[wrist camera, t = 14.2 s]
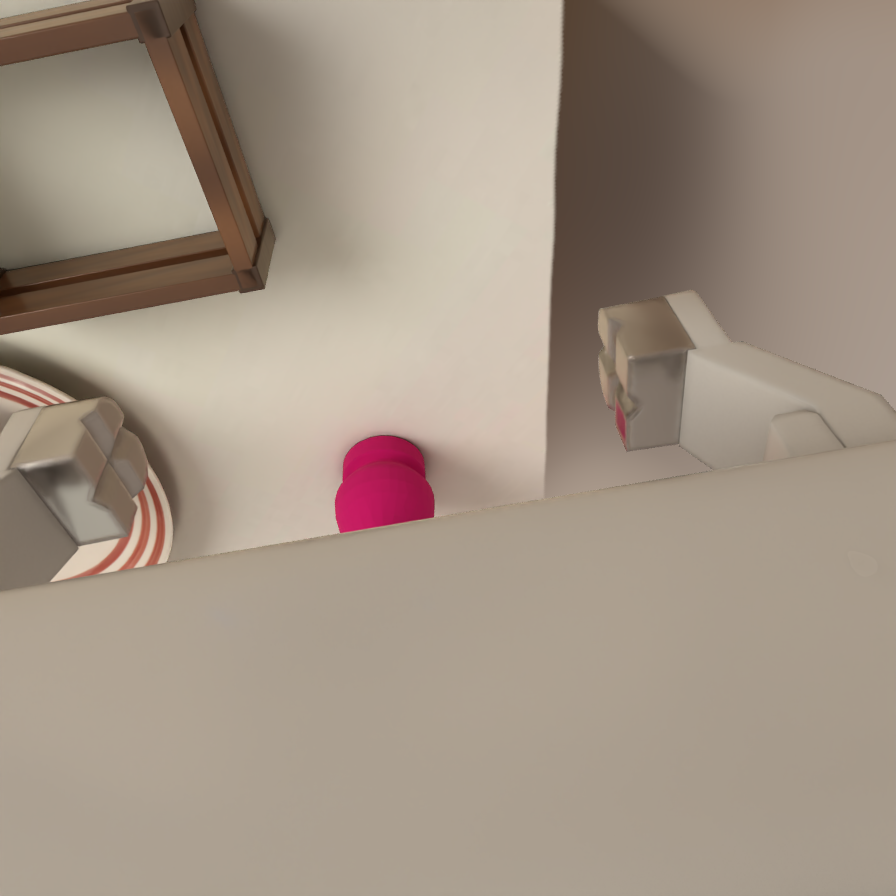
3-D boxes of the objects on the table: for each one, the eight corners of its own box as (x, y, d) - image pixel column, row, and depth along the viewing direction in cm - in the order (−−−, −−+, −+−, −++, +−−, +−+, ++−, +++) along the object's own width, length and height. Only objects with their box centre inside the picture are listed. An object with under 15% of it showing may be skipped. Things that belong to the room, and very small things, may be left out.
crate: (-167, 47, 34) (-247, 82, 30) (185, -25, 33) (157, -1, 29) (-5, 292, 43) (-48, 347, 38) (276, 239, 42) (265, 289, 38)
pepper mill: (395, 510, 58) (405, 747, 43) (319, 475, 55) (301, 719, 40) (449, 455, 55) (480, 692, 40) (370, 414, 52) (371, 656, 37)
